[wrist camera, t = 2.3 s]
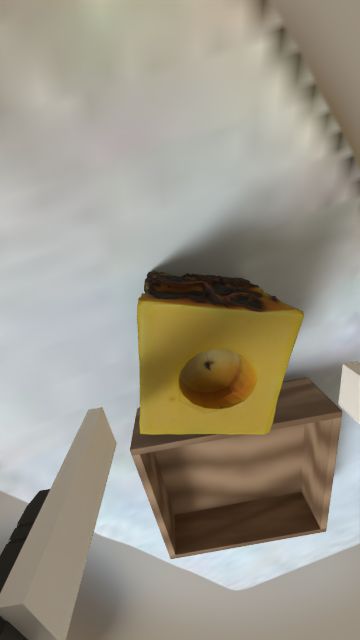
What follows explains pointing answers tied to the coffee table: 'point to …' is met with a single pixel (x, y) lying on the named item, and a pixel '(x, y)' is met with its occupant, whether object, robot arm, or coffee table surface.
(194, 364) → the candle
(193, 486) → the crate
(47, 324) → the coffee table surface
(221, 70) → the coffee table surface
